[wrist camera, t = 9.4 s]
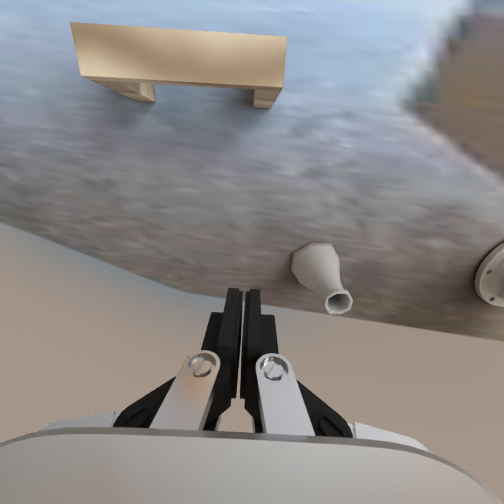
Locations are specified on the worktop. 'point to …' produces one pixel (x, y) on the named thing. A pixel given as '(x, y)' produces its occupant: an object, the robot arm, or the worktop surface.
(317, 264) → the flask
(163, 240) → the worktop surface
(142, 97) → the bridge
